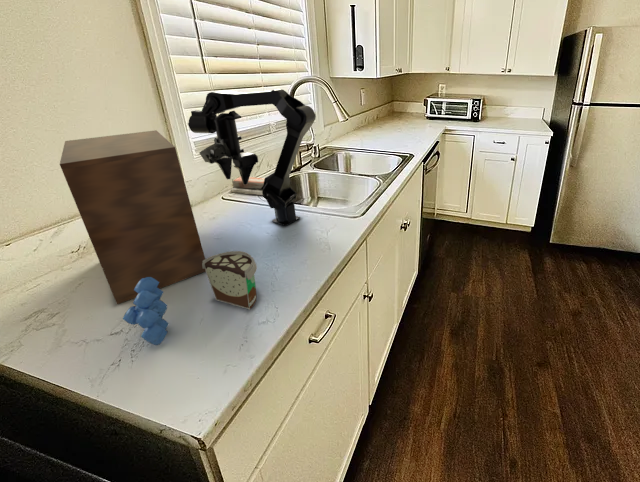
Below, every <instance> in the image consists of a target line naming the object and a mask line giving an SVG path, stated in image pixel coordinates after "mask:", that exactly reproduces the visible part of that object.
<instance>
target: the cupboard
mask: <svg viewBox="0 0 640 482" xmlns="http://www.w3.org/2000/svg"><path fill="white" fill-rule="evenodd" d="M59 167H60V169H61V171H62V174H63V176H64V179H65V182H66V183H67V186H68V188H69V191H70V194H71V195H72V198H73V201H74V204H75V206H76V208H77V211H78V213H79V215H80V218H81V220H82V223H83V225H84V227H85V230H86V232H87V235H88V237H89V239H90V242H91V245H92V248H93V249H94V252H95V254H96V257H97V259H98V261H99V264H100V266H101V269H102V272H103V274H104V276H105V279H106V282H107V283H108V286H109V288H110V291H111V293H112V296H113V298H114V300H115V303H116V305H119V304H122V303H126V302H127V301H131V300H133V299H135V298H136V296H137V295H138V294H139V293H137V292H136V291H135V290H134V289H135V287H136V285H137V283H138V282H139V281H140V280H141V279H142V278H145V277H152V278H154V279H155V280H157V281H158V282H159V284H158V286H157V288H159V289H160V290H161V289H162V288H165V287H168V286H171V285H173V284H176V283H179V282H181V281H184V280H186V279H190V278H192V277H194V276H198V275H200V274H203V273H206V271H205V268H204V269H203V268H202V263H203V262H202V261H203V260H205V259H206V257H205V253H204V249H203V246H202V241H201V238H200V234H199V232H198V226H197V224H196V219H195V215H194V212H193V208H192V205H191V201H190V197H189V194H188V193H189V192H188V190H187V185H186V182H185V179H184V175H183V171H182V168H181V164H180V160H179V157H178V152H177V148H176V146H175V145H174V144H172V143H171V142H170V141H169V140H168V139H166V138H165V136H163V134H161V133H160V132H159V131H158V130H157V129H156V130H155V129H154V130H147V131H139V132H138V131H137V132H130V133H123V134H122V133H121V134H113V135H105V136H104V135H103V136H96V137H88V138H87V137H86V138H79V139H72V140H71V139H69V140H65V141H64V144H63V147H62V151H61V156H60V160H59Z"/></svg>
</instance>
